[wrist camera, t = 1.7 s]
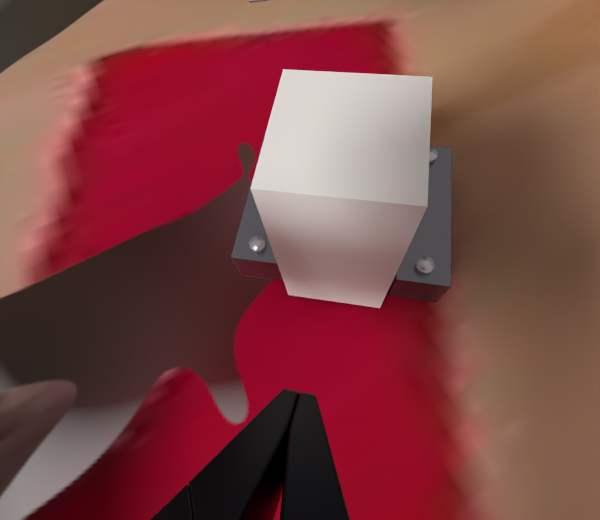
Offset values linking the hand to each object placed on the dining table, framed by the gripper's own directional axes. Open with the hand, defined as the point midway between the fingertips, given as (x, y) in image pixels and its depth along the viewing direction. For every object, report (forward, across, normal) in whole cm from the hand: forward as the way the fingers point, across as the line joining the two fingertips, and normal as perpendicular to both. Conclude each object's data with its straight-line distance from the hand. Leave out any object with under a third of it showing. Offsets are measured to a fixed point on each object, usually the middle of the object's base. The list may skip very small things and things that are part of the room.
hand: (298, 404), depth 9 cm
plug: (+16, 0, +2) cm, 16 cm away
